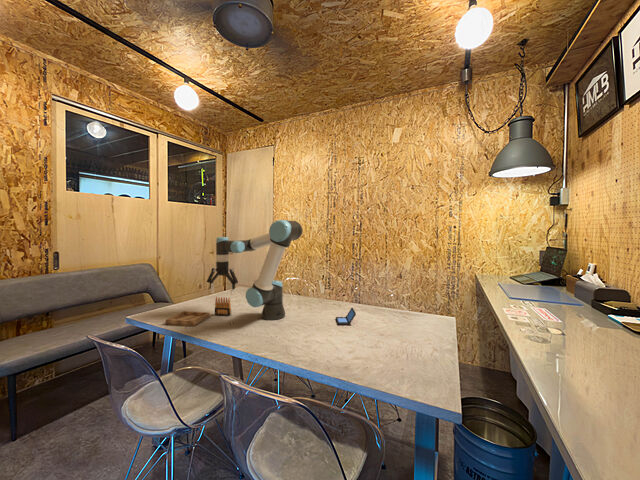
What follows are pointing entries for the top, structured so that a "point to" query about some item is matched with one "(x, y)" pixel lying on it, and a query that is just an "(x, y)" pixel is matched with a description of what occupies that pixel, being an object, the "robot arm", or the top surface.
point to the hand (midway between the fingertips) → (222, 293)
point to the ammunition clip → (222, 307)
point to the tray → (188, 318)
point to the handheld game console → (346, 318)
